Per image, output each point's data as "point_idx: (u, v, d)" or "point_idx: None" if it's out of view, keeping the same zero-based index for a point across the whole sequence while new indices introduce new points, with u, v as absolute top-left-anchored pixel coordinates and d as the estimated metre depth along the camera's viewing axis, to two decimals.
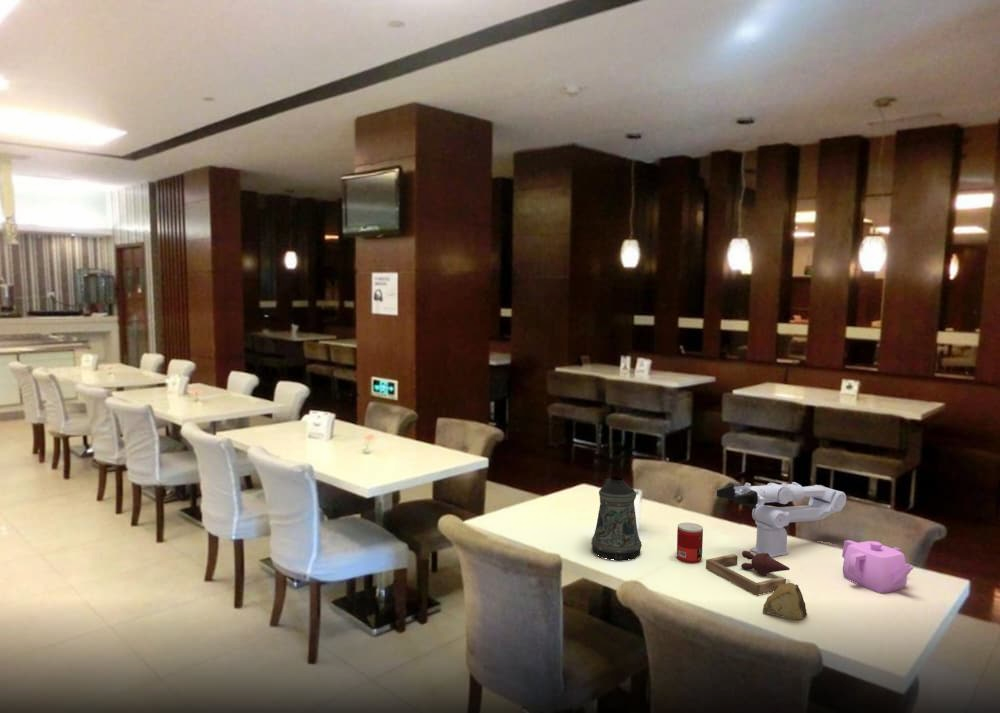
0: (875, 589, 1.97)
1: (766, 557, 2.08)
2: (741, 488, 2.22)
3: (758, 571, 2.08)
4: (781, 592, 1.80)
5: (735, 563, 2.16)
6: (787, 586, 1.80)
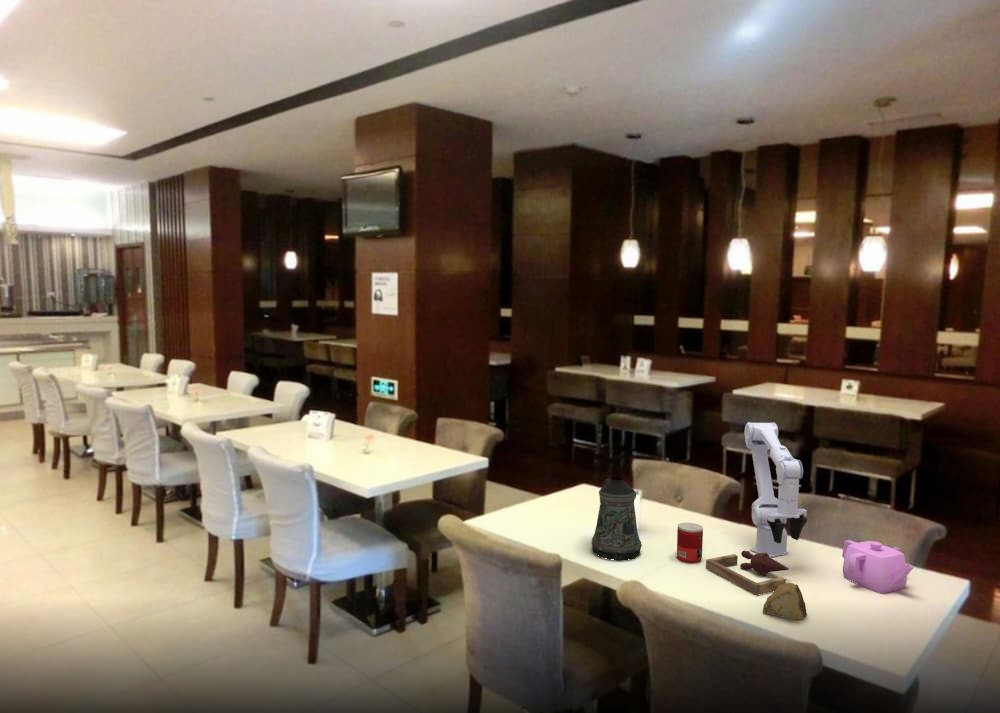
0: (875, 589, 1.97)
1: (765, 557, 2.08)
2: None
3: (757, 571, 2.08)
4: (781, 592, 1.80)
5: (735, 563, 2.16)
6: (787, 586, 1.80)
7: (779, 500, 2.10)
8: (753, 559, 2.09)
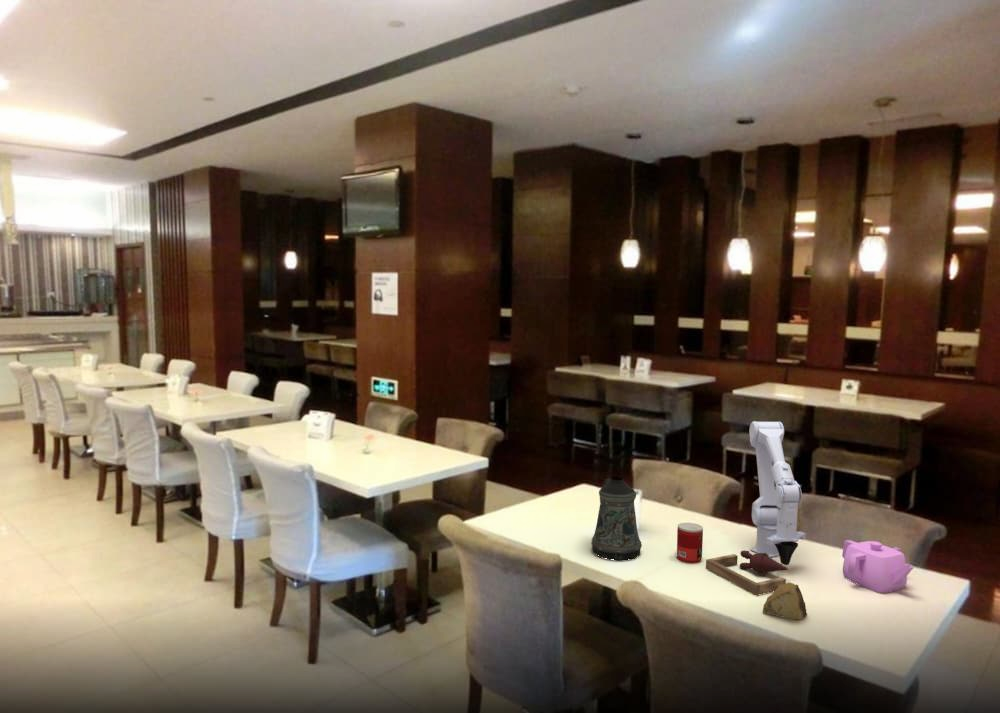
0: (875, 589, 1.97)
1: (764, 557, 2.08)
2: None
3: (756, 571, 2.08)
4: (781, 592, 1.80)
5: (735, 563, 2.16)
6: (787, 586, 1.80)
7: (778, 523, 2.11)
8: (752, 559, 2.09)
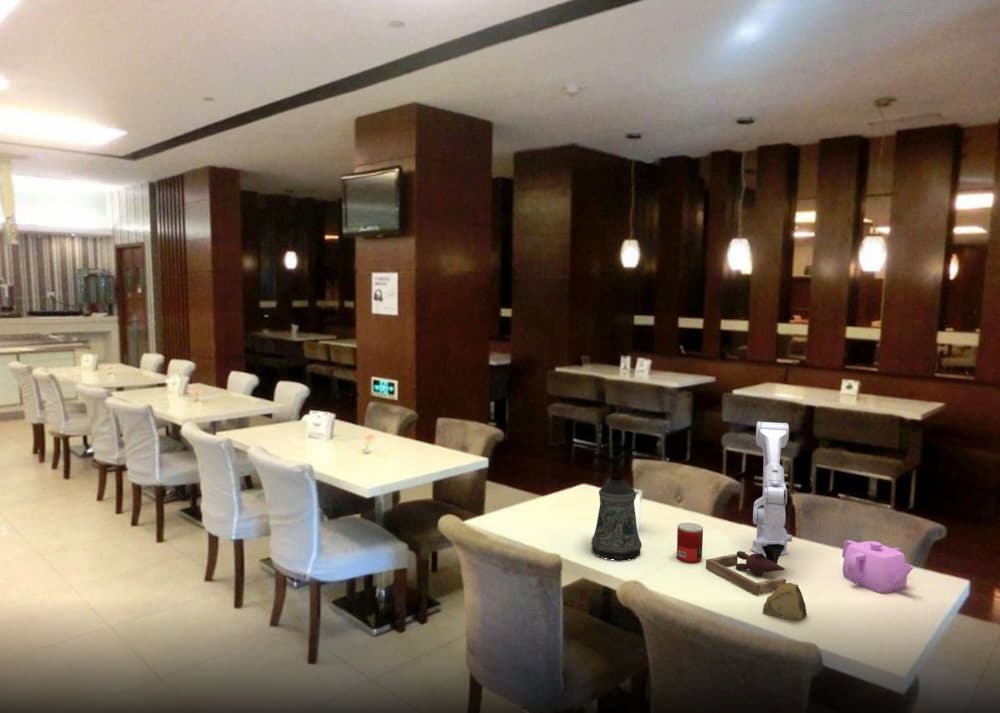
0: (875, 589, 1.97)
1: (761, 557, 2.07)
2: None
3: (753, 571, 2.07)
4: (781, 592, 1.80)
5: (735, 563, 2.16)
6: (787, 586, 1.80)
7: (765, 526, 2.09)
8: (749, 560, 2.08)
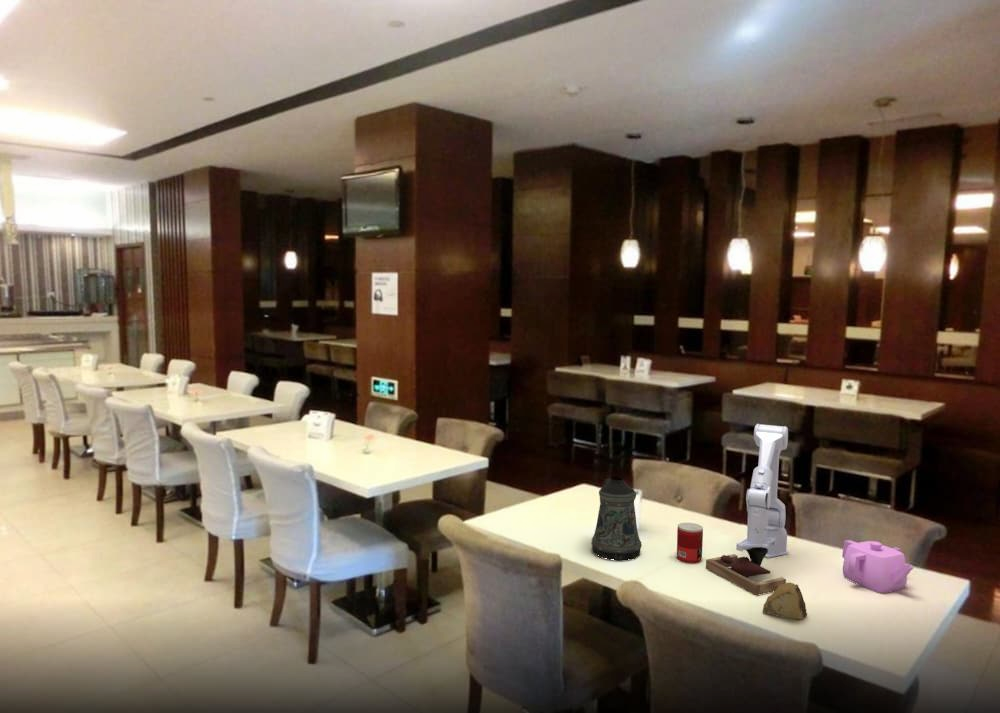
0: (875, 589, 1.97)
1: (746, 561, 2.04)
2: None
3: None
4: (781, 592, 1.80)
5: None
6: (787, 586, 1.80)
7: (748, 529, 2.06)
8: (734, 564, 2.05)
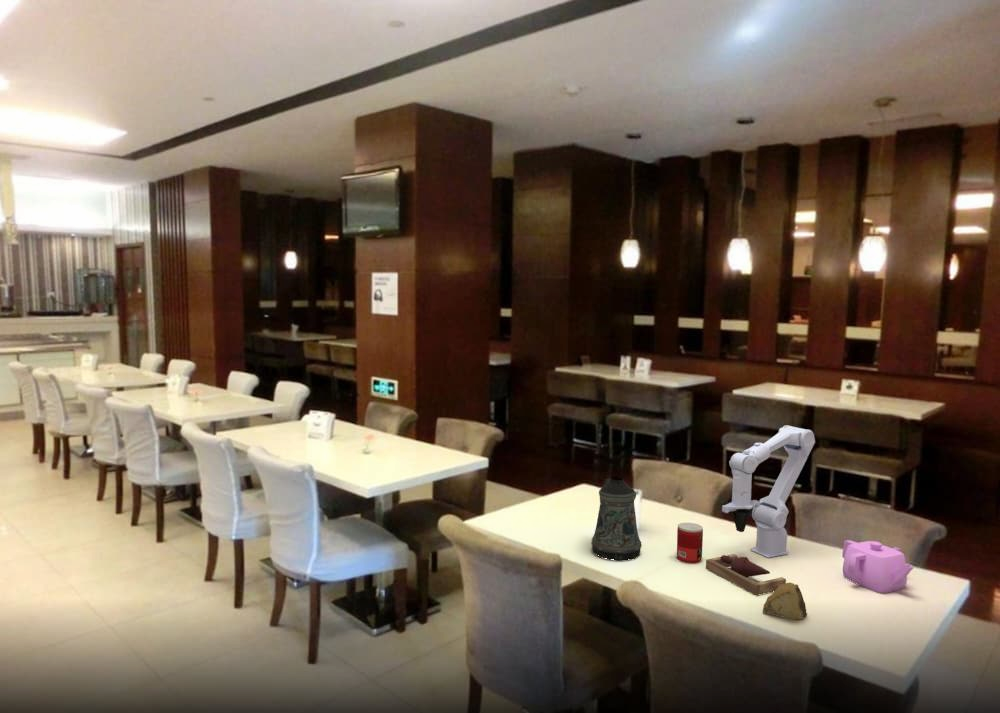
0: (875, 589, 1.97)
1: (746, 561, 2.04)
2: None
3: None
4: (781, 592, 1.80)
5: None
6: (787, 586, 1.80)
7: (733, 492, 2.19)
8: (734, 564, 2.05)
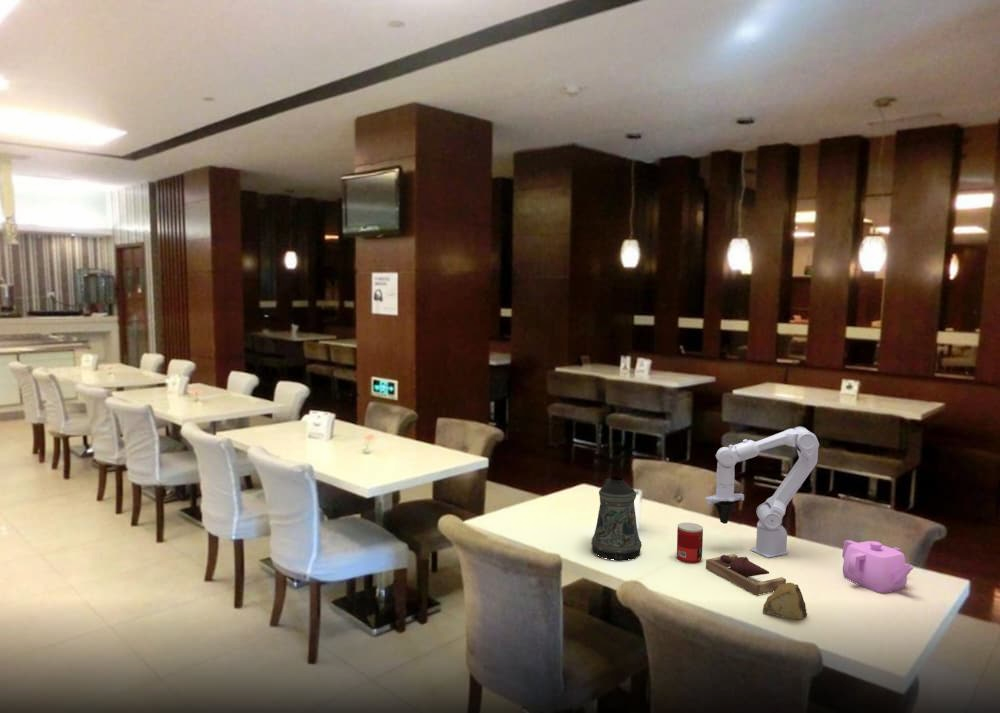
0: (875, 589, 1.97)
1: (745, 561, 2.05)
2: None
3: None
4: (781, 592, 1.80)
5: None
6: (787, 586, 1.80)
7: (717, 485, 2.27)
8: (733, 563, 2.05)
